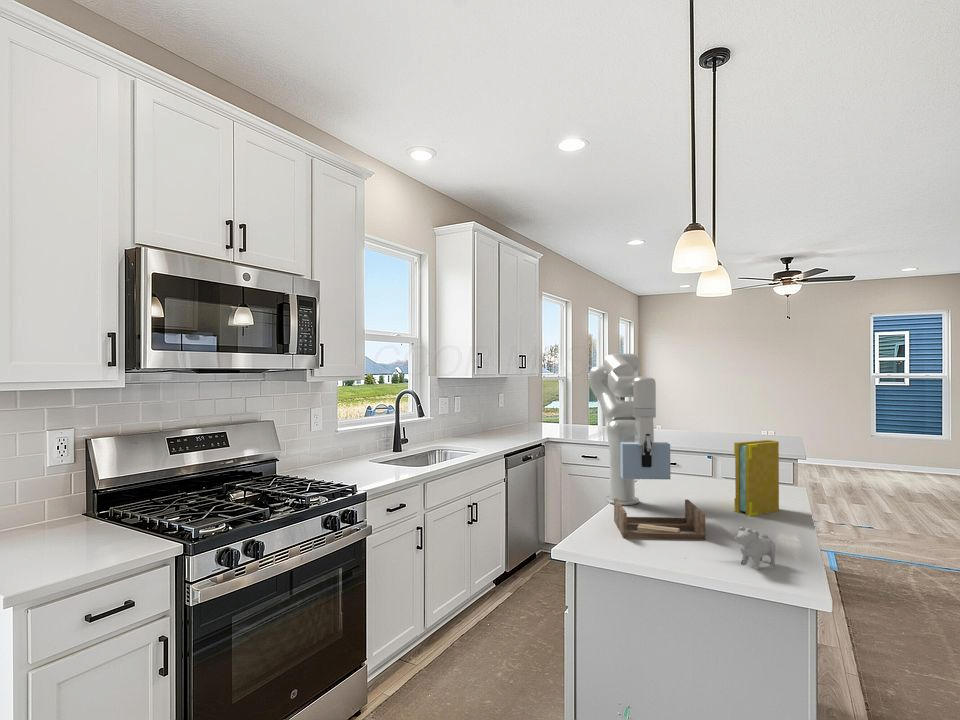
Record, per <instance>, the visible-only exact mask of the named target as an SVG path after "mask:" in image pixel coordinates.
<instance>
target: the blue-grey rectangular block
mask: <svg viewBox="0 0 960 720" xmlns="http://www.w3.org/2000/svg"><path fill="white" fill-rule="evenodd" d="M644 446H646V444H644ZM651 446H652V445H651ZM642 455H643V452H642V445H641V447H639V446H638V444H637V443H636V442H620V476H621V477H622V478H623V479H635V480H671V444H670V443H669V442H667V441H666V442H664V441H663V442H662V441H656V442H655V441H654V444H653V446H652V447H651V455H652V466H651V467H642Z"/></svg>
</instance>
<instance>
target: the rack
mask: <svg viewBox="0 0 960 720" xmlns="http://www.w3.org/2000/svg"><path fill="white" fill-rule="evenodd" d="M613 507H614V508H613V518H614V519H613V521H614V524H615V526H616V527H617V529H618V531H619V532H620V535H621V537H622V539H632V540H633V539H635V540H636V539H638V540H639V539H641V540H647V539H648V540H688V541H689V540H691V541H693V540H694V541H697V540H698V541H705V540H706V513H704V511H702V509H700V508H699V507H698V506H697V505H695V503H693V502H692V501H690V500H689V499H686V498H685V499H684V517H672V516H671V517H665V516H664V517H661V516H628V515H627V514H628V513H627V511H626V510H625V507H624V506H623V505H621V504H620V502H619V500H618V499H617V498H614V504H613ZM639 524H646V525H655V526H663V527H672V528H679V530H680V531H681V532H680V533H654V532H637V527H638V525H639ZM628 530H634V531H628ZM682 531H683V532H682ZM684 531H685V532H684ZM686 531H687V532H686ZM691 532H694V533H691Z"/></svg>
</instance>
